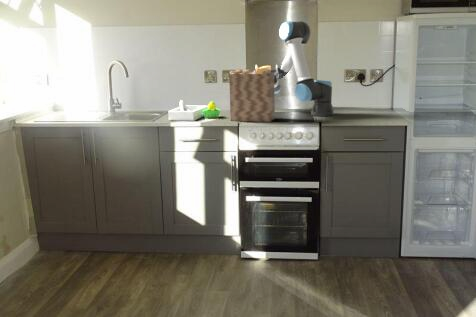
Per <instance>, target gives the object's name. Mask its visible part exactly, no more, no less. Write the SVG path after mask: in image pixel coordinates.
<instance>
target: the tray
mask: <svg viewBox="0 0 476 317" xmlns="http://www.w3.org/2000/svg"><path fill="white" fill-rule="evenodd" d="M185 105H186V104H185ZM186 108H187V111H181V110H180V106H179V107H176V108H173V109H171V110H168V111H167V112H168V114H167V115H168V121H175V122H176V121H179V122H181V121H182V122H183V121H185V122H194V121H196V120H197V121H198V119H201V118H203V117H204V115H203V111H202V110H206V109H208V105H188V104H187V105H186ZM188 109H189V110H190V111H188Z"/></svg>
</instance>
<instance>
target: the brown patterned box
mask: <svg viewBox="0 0 476 317" xmlns="http://www.w3.org/2000/svg"><path fill="white" fill-rule="evenodd" d="M228 76H229V107H230V108H229V109H230V112H229V113H230V122H255V123H256V122H260V123H261V122H262V123H264V122H265V123H270V122H272V121H273V120H275V116H276V115H275V110H276V109H275V106H276V105H275V103H276V102H275V95H276V94H275V91H274V72H270V70H266V71H264V74H257V71H255V72H254V71H250V69H245V70H241V69H237V70H234V71H233V72H232V73H229V75H228Z"/></svg>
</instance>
